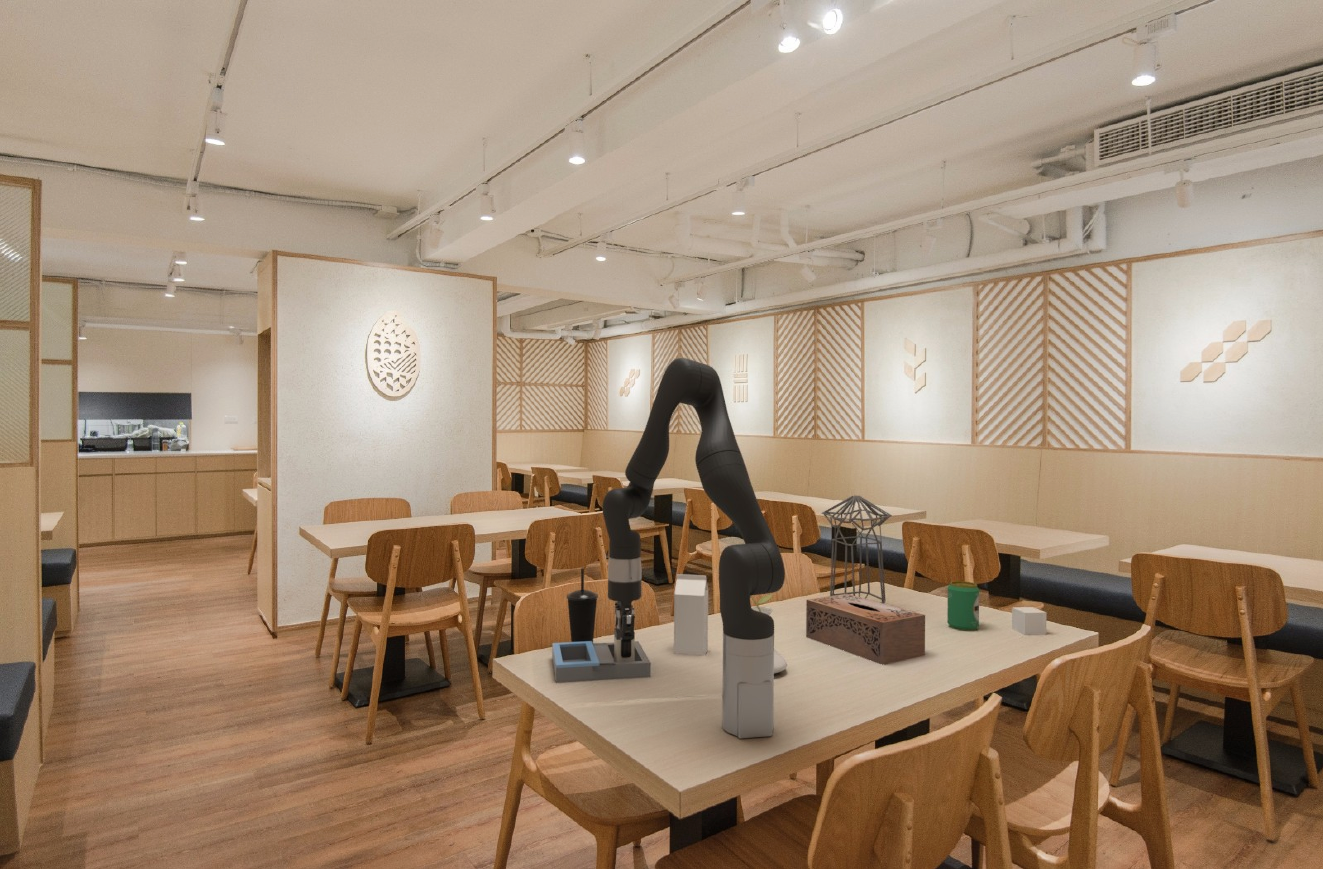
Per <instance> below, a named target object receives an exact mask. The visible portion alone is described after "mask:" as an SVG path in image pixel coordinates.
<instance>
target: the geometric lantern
mask: <svg viewBox="0 0 1323 869" xmlns="http://www.w3.org/2000/svg"><path fill="white" fill-rule="evenodd" d="M856 503H857V508H858V509H856V510H855V506H856ZM843 504H844V505H843ZM840 506H841V507H840ZM838 507H840V508H839V509H838V510H837V511H833V510H834V509H836V508H838ZM861 507H862V508H863V509H862V508H861ZM846 510H847V511H846ZM863 511H864V512H865V513H866V515H867V516H868V518H863V515H862V512H863ZM854 513H856V514H855V515H854V516H853V514H854ZM821 515H823V516H824V517H825V518H826V519H827V521H828V522H829V524H830V527H832V528H834V538H832V539H831V541H832V542H831V560H830V563H831V567H830V587H829V588H830V591H829V596H835V595H841V594H850V595H854V596H856V594H858V597H861V594H863V595H866V596H865V597H864V598H865V599H867V598H868V597H869V595H870V596H872V597H874V598H876V599H879V600H881V601H879V602H880V603H883V604H886V601H887V600H886V586H885V573H884V572H885V571H884V570H885V569H884V556H883V544H882V543H883V540H882V528H881V526H882V525H883V524H884V523H885V522H886V521H887V520H888V519H889V518H890V517H892V516H893V515H892V514H890V513H888V512H887V511H886V510H883V509H882V508H881V507H880V506H877V505H875V504H874V503H872V502H871V501H869V500H867V499H866V498H864V497H862V496H861V495H851V496H849V497H847V498H846V499H844V500H842V501H841V502H839V503H837V504H835V505H833V506H832V507H830V508H828V509H826V510H824V511H823V512H821ZM843 515H844V517H843ZM848 515H849V518H848ZM872 515H873V516H875V518H873V516H872ZM858 516H859V517H858ZM829 517H830V518H829ZM833 520H834V523H833ZM878 520H879V521H878ZM837 521H838V522H839V523H838V524H837ZM856 521H861V525H859V523H857V522H856ZM868 521H870V525H871V526H870V527H864V522H868ZM843 523H845V524H852V526H853V527H854V528H855V530H857V532H858V535H856V536H847V537H846V536H844V535H843V533H842V532H841V526H842V524H843ZM877 526H878V527H879V537H880V540H879V539H878V537H877V535H876V532H875V527H877ZM857 527H858V528H857ZM836 529H837V531H836ZM859 529H860V530H861V531H860V530H859ZM867 530H868V531H867ZM863 531H867V533H866V535H865V536H864V535H862V533H863ZM871 531H872V534H873V536H874V538H875V539H874V538H871V537H869V536H870V533H871ZM839 535H840V536H841V537H838V536H839ZM846 539H854V540H853V542H852V544H851V543H847V541H846ZM858 539H859V543H856V541H857V540H858ZM863 539H865V542H863ZM839 540H843V541H839ZM868 540H872V541H875V542H868ZM838 543H839V544H842V545H845V546H844V547H845V548H844V549H845V550H844V551H845V553H844V554H845V555H844V592H839V593H835V586H836V585H835V584H836V582H835V580H836V566H837V565H836V564H837V551H838V548H837V547H838ZM868 545H876V551H877V560H878V561H877V562H878V563H877V564H878V573H879V584H880V594H881V595H880V596H881V597H880V596H878V595H875V594H874V593H871V591H870V590H871V588H870V587H871V586H870V566H869V563H870V562H869V547H868ZM854 546H859V577H858V578H859V579H858V580H859V583H858V584H859V585H858V590H857V591H856V585H855V584H856V582H855V581H856V580H855V564H854V563H855V562H854ZM863 546H865V556H866V578H867V591H862V560H863V559H862V554H863V553H862V552H863ZM848 547H850V551H851V553H850V556H851V557H850V558H851V575H852V576H851V577H852V591H850V592H847V588H848V587H847V582H848V581H847V580H848V579H847V578H848V577H847V576H848V573H847V572H848Z"/></svg>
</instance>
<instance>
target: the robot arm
mask: <svg viewBox="0 0 1323 869" xmlns="http://www.w3.org/2000/svg"><path fill="white" fill-rule="evenodd" d="M679 404H684V405H688V406H691V407H693V408H694V409H695V412H696V414H697V417H698V420H699V423H700V426H701V427H700V429H701V433H700V437H699V440H698V442H697V447H696V450H695V457H694V458H695V459H694V460H695V467H696V470H697V473H698V476H699V479H700V484H701V487H702V489H703V491H704V492H705V494H706V496H707V497H708V498H709V500H711V501H712V503H713V504H714V505H715V506H716V507H717V508H718V509H719V510H720V511H721V512H722V513H723V514H725V516H727V517H728V519H729V520H730V521H731V522H732V523H733V524H734V526H735V527H736V528H737V529H738V532H739V533H740V535H741V537H742V539H743V541H744V543H743V544H742V543H740V544H730V545H727V546H726V547H724V548H723V549H722V551H721V554H720V557H719V562H718V585H719V589H718V590H719V611H720V616H721V622H722V690H721V691H722V694H721V696H722V699H721V700H722V702H721V704H722V707H721V708H722V709H721V710H722V712H721V714H722V715H721V718H722V719H721V723H722V724H721V725H722V728H723V730H724V731H725V732H727V733H728V734H731V735H733V736H735V737H737V738H739V739H750V738H751V739H752V738H762V737H772V736H773V732H774V731H773V730H774V726H775V725H774V723H775V722H774V714H775V713H774V710H775V708H774V704H775V703H774V700H775V699H774V698H775V697H774V696H775V694H774V691H775V690H774V689H775V687H774V686H775V682H774V680H775V675H774V649H775V621H774V618H773V617H772V616H771V615H767V614H765V613H762V612H759V611H755V610H753V609H752V605H751V598H750V596H751V595H752V596H758V595H767V594H768V595H769V594H774V593H777V592H778V591H780V590H781V589H782V588H783V586H784V583H785V579H786V572H785V563H784V560H783V556H782V554H781V551H780V549H779V547H778V544H777V542H776V539H775V537H774V536H773V533H772V531H771V529H770V527H769V525H768V523H767V520H766V518H765V516H764V514H763V512H762V509H761V506H760V504H759V501H758V498H757V496H756V494H755V490H754V487H753V485H752V482H751V478H750V475H749V472H748V469H747V466H746V463H745V460H744V458H743V457H744V456H743V455H742V452H741V450H740V447H739V444H738V442H737V438H736V436H735V432H734V429H733V426H732V423H731V420H730V416H729V413H728V408H727V404H726V400H725V396H724V390H723V386H722V382H721V380H720V376H719V375H718V371H716V369H715V368H713V366H711V365H709V364H706V363H704V362H698V361H696V360H693V359H690V358H686V357H678V358H675V359H673V360H672V361H671V362H670V363H669V364H668V366H667V367H666V369H665V371H664V373H663V375H662V378H661V380H660V382H659V386H658V388H657V391H656V395H655V397H654V401H653V403H652V406H651V410H650V412H649V415H648V418H647V422H646V425H645V428H644V431H643V433H642V436H641V438H640V440H639V441H638V442H639V443H638V445H636V448H635V450H634V452H633V454H632V455H631V457H630V460H629V462H628V463H627V466H626V468H625V472H624V475H625V478H626V479H627V480H628V482H629V483H628V485H627V486H626V487H621V488H613V489H610V490H608V492H607V493H606V494H605V496H604V498H603V501H602V515H603V519H604V523H605V529H606V532H607V536H608V540H609V541H608V564H607V598H608V599H609V600H611V601H613V602H614V613H615V616H614V617H615V619H614V621H615V627H614V628H618V629H619V630H620V634H621V637H620V639H621V657H622V658H629V657H631V640H633V639H634V632H635V619H636V615H635V613H636V612H635V607H633V604H632V602H635V601H638V600H640V599H641V598H642V583H643V582H642V570H643V569H642V559H641V551H642V550H641V548H642V547H641V541H642V540H641V535H640V533H639V532H638V531H637V530H634V529H631V525H630V520H631V519H637V518H639V517H641V516H642V515H643V514H644V513H645V512H646V510H647V509H648V507H649V505H650V503H651V499H652V498H651V497H652V494H653V491H654V487H655V483H656V481H657V478H658V476H659V475H660V474H661V472H662V469H663V468H664V466H665V464H666V463H667V459H668V456H669V450H670V423H671V419H672V416H673V415H674V412H675V411H676V409H677V407H678V406H679ZM625 631H629V634H625Z"/></svg>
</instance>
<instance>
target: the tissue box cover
mask: <svg viewBox="0 0 1323 869" xmlns="http://www.w3.org/2000/svg"><path fill="white" fill-rule="evenodd" d="M805 602H806V603H805V604H806V607H805V608H806V611H805V612H806V615H805V619H806V620H805V621H806V623H805V624H806V625H805V638H807V639H811V640H813V641H816V642H819V643H820V644H821V643H822V644H823V645H827V646H829V645H830V646H829V647H833V648H835V649H838V650H841V651H843V650H844V651H843V652H846V653H848V654H852V655H854V656H857V657H859V656H860V657H859V658H863V659H865V660H868V661H870V660H871V662H873V663H877V664H880V665H881V664H882V666H883V664H885V665H889V664H892V663H896V662H902V661H906V660H910V659H915V658H918V657H920V658H921V657H924V656H925V655H926V614H924V613H921V612H916V611H912V610H908V609H905V608H901V607H897V606H893V605H889V604H887V603H884V604H883V603H880V602H881V601H875V600H872V599H867V598H866V599H865V597H862V596H860V597H859V596H857V595H855V596H854V595H853V594H841V595H835V596H830V595H829V596H822V597H816V598H815V597H814V598H810V599H809V598H807V599H806V601H805Z"/></svg>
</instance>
